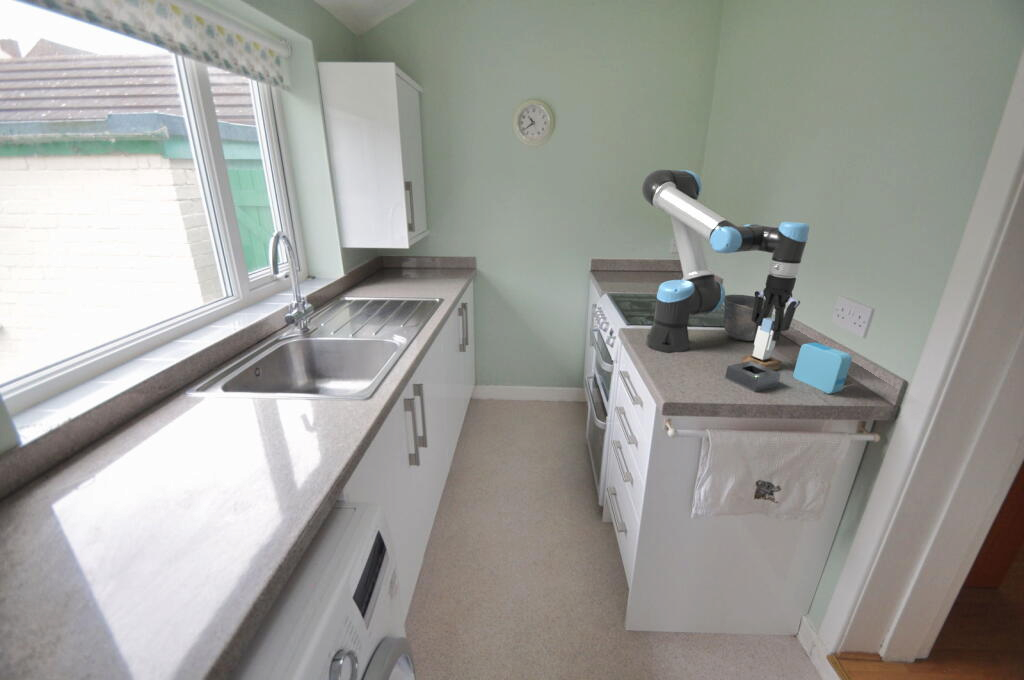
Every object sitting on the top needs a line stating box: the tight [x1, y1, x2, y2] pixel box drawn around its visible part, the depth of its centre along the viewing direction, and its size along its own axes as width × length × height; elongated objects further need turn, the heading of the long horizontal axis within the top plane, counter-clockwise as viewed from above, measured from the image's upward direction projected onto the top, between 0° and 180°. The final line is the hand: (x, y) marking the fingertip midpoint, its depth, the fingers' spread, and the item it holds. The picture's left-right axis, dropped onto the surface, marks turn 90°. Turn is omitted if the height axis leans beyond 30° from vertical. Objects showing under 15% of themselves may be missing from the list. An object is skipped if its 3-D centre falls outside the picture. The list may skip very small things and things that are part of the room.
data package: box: [792, 341, 853, 395], centre depth 127 cm, size 12×4×12 cm, turn 22°
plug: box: [752, 317, 775, 360], centre depth 138 cm, size 4×4×13 cm
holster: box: [740, 353, 782, 371], centre depth 141 cm, size 8×8×3 cm
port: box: [724, 361, 781, 393], centre depth 129 cm, size 10×10×5 cm
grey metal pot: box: [722, 294, 775, 342], centre depth 165 cm, size 18×18×15 cm
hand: (763, 346), depth 139 cm, fingers closed on plug, 4 cm apart
